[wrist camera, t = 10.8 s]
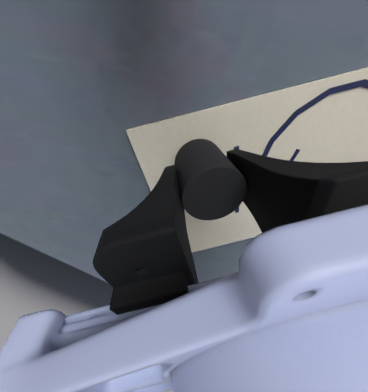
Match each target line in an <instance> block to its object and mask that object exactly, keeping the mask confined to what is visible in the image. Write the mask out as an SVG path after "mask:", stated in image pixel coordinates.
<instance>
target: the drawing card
mask: <svg viewBox="0 0 368 392" xmlns="http://www.w3.org/2000/svg"><path fill="white" fill-rule="evenodd" d="M126 132H127V135H128V137H129V140H130V142H131V144H132V147H133V149H134V152H135V154H136V157H137V159H138V161H139V164H140V166H141V169H142V171H143V174H144V176H145V178H146V181H147V183H148V186H149V188H150V191H152V190H153V188H154V187H155V185H156V184H157V182H158V180H159V179H160V177H161V175H162V173H163V170H164V168H165V167H167V166H171V165H174V162H175V157H176V154H177V152H178V151H179V149H180V148H181V147H182V146H183V145H184V144H186V143H187V142H189V141H191V140H194V139H207V140H209V141H212V142H213V143H214V144H216V145H217V147H218V148H219V149H220V150H221V151H222V152H223V153H224V154H225V156H226V157H227V152H226V151H230V150H234V149H239V150H243V151H247V152H251V153H255V154H258V155H262V156H267V157H271V158H276V159H282V160H290V161H299V162H314V163H346V162H363V161H368V67H366V68H362V69H359V70H355V71H351V72H347V73H343V74H339V75H335V76H332V77H328V78H324V79H320V80H316V81H312V82H308V83H304V84H301V85H297V86H293V87H289V88H285V89H281V90H277V91H274V92H270V93H266V94H262V95H258V96H254V97H250V98H247V99H243V100H239V101H235V102H231V103H227V104H223V105H220V106H216V107H212V108H208V109H204V110H200V111H196V112H193V113H189V114H185V115H181V116H177V117H173V118H169V119H166V120H162V121H158V122H154V123H150V124H146V125H142V126H139V127H135V128H131V129H127V130H126ZM184 210H185V209H184ZM185 220H186V228H187V234H188V238H189V243H190V247H191V252H192V253H193V252H197V251H201V250H205V249H209V248H213V247H217V246H221V245H225V244H229V243H233V242H237V241H241V240H245V239H249V238H253V237H256V236H257V235H259V234H261V233H262V232H261V230H260V228H259V226H258V224H257V222H256V221H255V219H254V217H253V215H252V214H251V212H250V211H249V209H248V208H247V207H246V205H245V204H244V202H242V203H241V204H240V206H239V207H238V208H237V209H236V210H235V211H233V212H232V213H230V214H229V215H227V216H225V217H223V218H220V219H216V220H200V219H196V218H194V217H192V216H191V215H189V214H188V213H187V212H186V210H185Z"/></svg>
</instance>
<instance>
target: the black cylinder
mask: <svg viewBox="0 0 368 392" xmlns="http://www.w3.org/2000/svg"><path fill="white" fill-rule="evenodd" d="M174 166H175V170H176V174H177V178H178V185H179V190H180V195H181V200H182V204H183V207H184V209H185V210H186V212H187V213H188V214H189V215H191V216H192V217H194V218H196V219H200V220H216V219H220V218H223V217H225V216H227V215H229V214H230V213H232V212H233V211H235V210H236V209H237V208H238V207H239V206H240V204H241V203H242V202H243V200H244V198H245V195H246V191H247V184H246V180H245V178H244V176H243V175H242V174H241V173H240V171H239V170H238V169H237V168H236V167H235V166H234V165H233V164H232V162H231V161H230V160H229V159H228V158H227V157H226V156H225V154H224V153H223V152H222V151H221V150H220V149H219V148H218V147H217V145H216V144H214V143H213V142H212V141H209V140H207V139H194V140H191V141H189V142H187V143H186V144H184V145H183V146H182V147H181V148H180V149H179V151H178V152H177V154H176V157H175V162H174Z"/></svg>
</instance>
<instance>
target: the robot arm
mask: <svg viewBox="0 0 368 392" xmlns="http://www.w3.org/2000/svg"><path fill="white" fill-rule="evenodd" d="M226 152H227V158H228V159H229V160H230V161H231V162H232V164H233V165H234V166H235V167H236V168H237V169H238V170H239V171H240V173H241V174H242V175H243V176H244V178H245V180H246V184H247V191H246V195H245V198H244V200H243V202H244V204H245V205H246V207H247V208H248V209H249V211H250V212H251V214H252V215H253V217H254V219H255V221H256V222H257V224H258V226H259V228H260V230H261V232H262V233H261V234H259V235H257V236H256V237H255V238H254V239H253V240H251V241H250V242H249V243H248V244H247V245H246V246H245V248H244V250H243V252H242V254H241V257H240V259H239V271H238V272H235V273H233V274H231V275H228V276H226V277H222V278H218V279H213V280H209V281H205V282H201V283H198V279H197V274H196V270H195V265H194V261H193V257H192V252H191V247H190V243H189V238H188V234H187V228H186V220H185V210H184V207H183V204H182V200H181V195H180V190H179V185H178V178H177V174H176V170H175V166H174V165H171V166H167V167H165V168H164V170H163V173H162V175H161V177H160V179H159V180H158V182H157V184H156V185H155V187H154V188H153V190H152V191H151V192H150V194H149V195H148V196H147V197H146V198H145V199H144V200H143V201H142V202H141V203H140V204H139V205H138V206H137V207H136V208H135V209H134V210H132V211H131V212H130V213H129V214H127V215H126V216H124V217H123V218H122V219H120V220H119V221H117V222H116V223H114V224H112V225H111V226H109V227H108V228H106V229H104V230H103V232H102V235H101V238H100V240H99V243H98V246H97V249H96V252H95V256H94V259H93V266H94V268H95V270H96V271H97V272H98V273H99V274H100V275H101V276H102V277H103V278H104V279H105V280H106V281H107V282H108V283H109V284H110V285H111V286H112V287H113V293H112V298H111V303H110V305H108V306H104V307H100V308H96V309H92V310H88V311H84V312H80V313H75V314H71V315H67V316H65V315H64V314H63V313H62V312H60V311H57V310H51V309H50V310H44V311H40V312H36V313H32V314H27V315H23V316H21V317H20V318H19V319H18V321H17V323H16V325H15V326H14V328H13V330H12V332H11V334H10V335H9V337H8V339H7V341H6V342H5V344H4V346H3V348H2V349H1V351H0V392H163V391H168V390H173V392H368V161H363V162H346V163H314V162H299V161H290V160H282V159H276V158H271V157H267V156H262V155H258V154H255V153H251V152H247V151H243V150H239V149H234V150H230V151H226Z"/></svg>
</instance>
